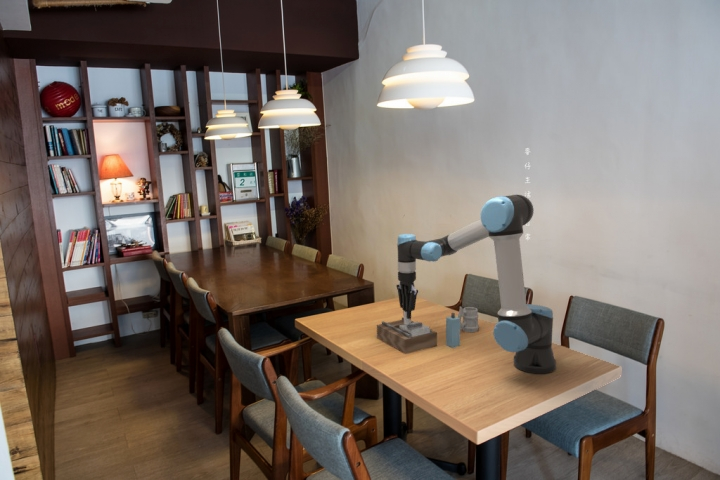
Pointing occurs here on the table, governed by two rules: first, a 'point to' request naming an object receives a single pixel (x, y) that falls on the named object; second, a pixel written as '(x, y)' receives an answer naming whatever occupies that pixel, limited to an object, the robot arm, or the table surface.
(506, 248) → the robot arm
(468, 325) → the mug
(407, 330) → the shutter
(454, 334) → the blue square bottle
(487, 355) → the table surface
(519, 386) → the table surface
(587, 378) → the table surface
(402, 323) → the socket box
